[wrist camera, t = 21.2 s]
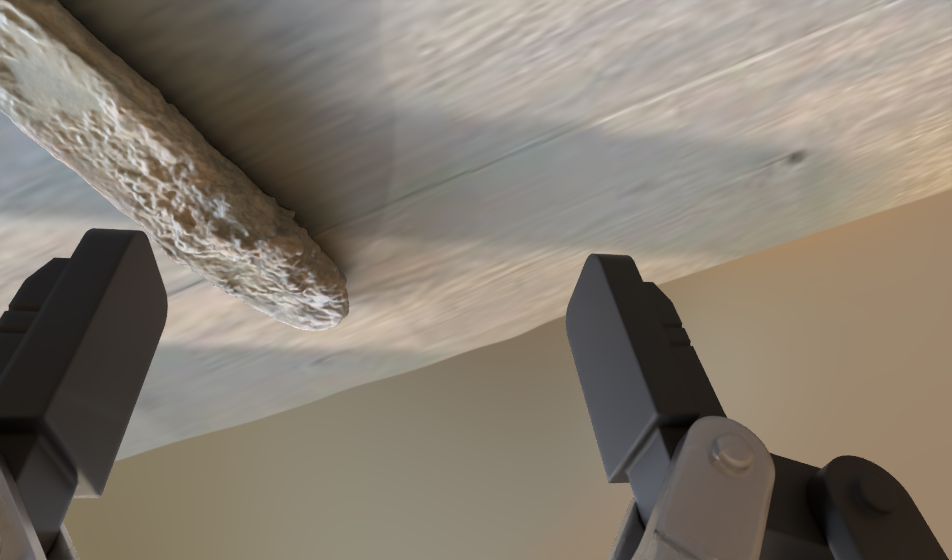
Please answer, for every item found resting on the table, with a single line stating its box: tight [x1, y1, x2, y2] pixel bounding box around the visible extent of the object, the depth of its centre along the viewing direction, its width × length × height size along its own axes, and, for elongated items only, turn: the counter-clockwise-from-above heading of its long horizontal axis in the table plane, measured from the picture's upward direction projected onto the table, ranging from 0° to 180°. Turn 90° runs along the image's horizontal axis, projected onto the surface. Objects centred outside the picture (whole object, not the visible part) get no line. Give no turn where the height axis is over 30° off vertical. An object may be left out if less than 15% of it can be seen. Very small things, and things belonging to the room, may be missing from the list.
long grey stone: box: [0, 0, 349, 331], centre depth 39 cm, size 35×5×10 cm
